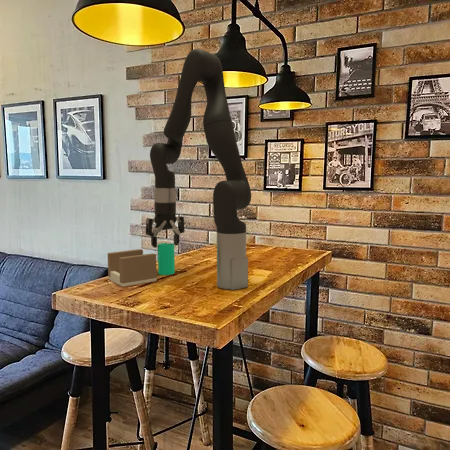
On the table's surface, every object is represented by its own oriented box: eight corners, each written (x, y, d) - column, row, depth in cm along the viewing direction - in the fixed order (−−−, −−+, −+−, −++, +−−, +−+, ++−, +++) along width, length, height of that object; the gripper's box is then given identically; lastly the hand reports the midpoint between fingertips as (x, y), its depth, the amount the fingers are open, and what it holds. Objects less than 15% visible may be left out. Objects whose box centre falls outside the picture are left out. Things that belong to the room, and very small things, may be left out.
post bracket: (156, 280, 137) (156, 254, 136) (122, 286, 130) (121, 258, 129) (141, 274, 147) (140, 249, 146) (108, 279, 140) (107, 252, 139)
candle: (171, 275, 145) (171, 241, 144) (155, 274, 146) (154, 241, 145) (177, 271, 151) (176, 238, 149) (161, 270, 152) (160, 238, 151)
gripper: (151, 202, 138) (152, 250, 140) (188, 200, 147) (188, 245, 149) (141, 200, 144) (142, 246, 146) (177, 199, 153) (177, 242, 155)
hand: (165, 246), depth 148 cm, fingers open, 8 cm apart
